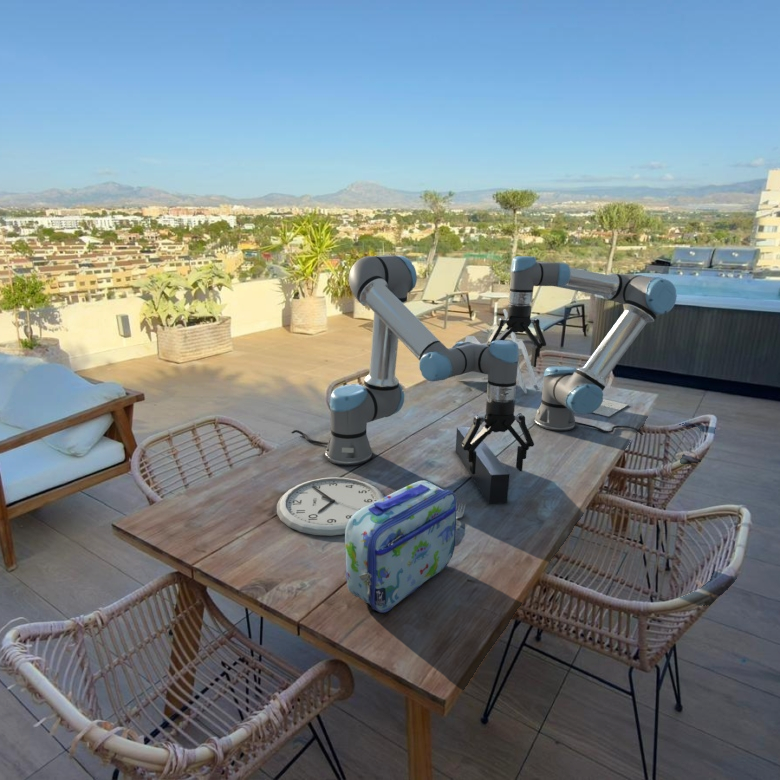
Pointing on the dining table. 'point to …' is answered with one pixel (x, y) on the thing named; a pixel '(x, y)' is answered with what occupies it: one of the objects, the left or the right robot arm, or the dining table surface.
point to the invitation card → (609, 407)
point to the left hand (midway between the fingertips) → (495, 470)
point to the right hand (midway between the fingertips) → (514, 366)
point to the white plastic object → (521, 351)
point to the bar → (485, 470)
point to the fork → (458, 514)
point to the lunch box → (399, 543)
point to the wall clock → (325, 504)
